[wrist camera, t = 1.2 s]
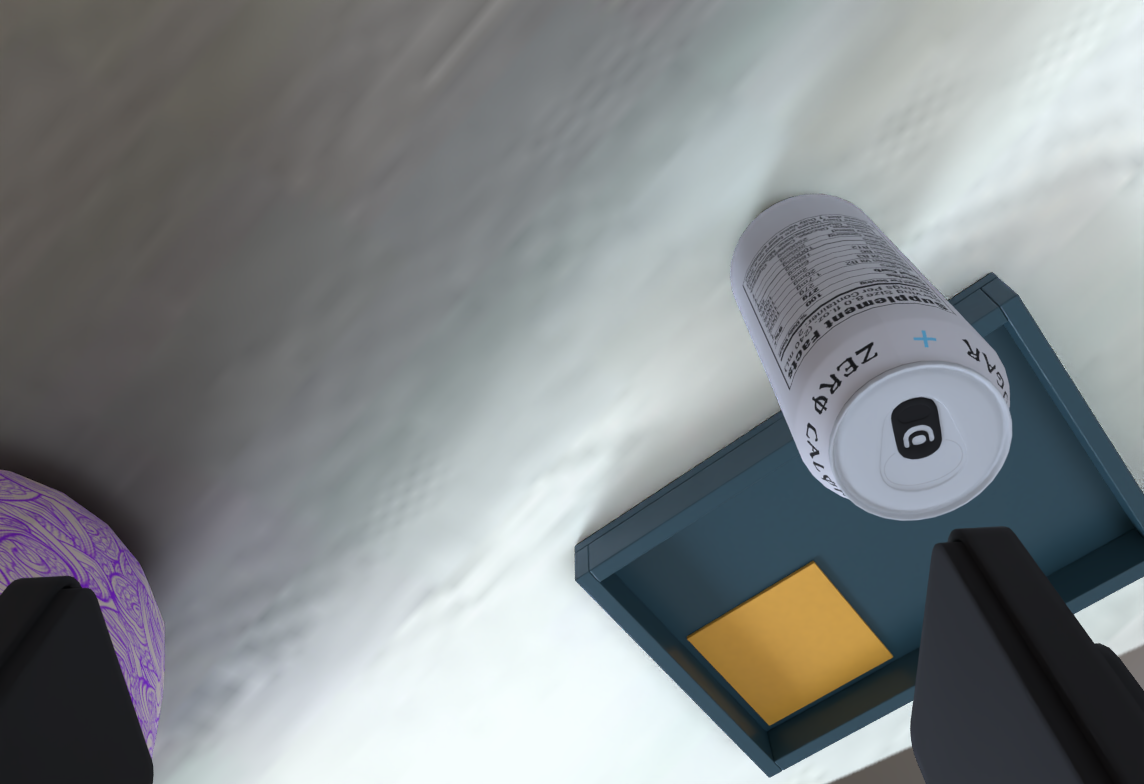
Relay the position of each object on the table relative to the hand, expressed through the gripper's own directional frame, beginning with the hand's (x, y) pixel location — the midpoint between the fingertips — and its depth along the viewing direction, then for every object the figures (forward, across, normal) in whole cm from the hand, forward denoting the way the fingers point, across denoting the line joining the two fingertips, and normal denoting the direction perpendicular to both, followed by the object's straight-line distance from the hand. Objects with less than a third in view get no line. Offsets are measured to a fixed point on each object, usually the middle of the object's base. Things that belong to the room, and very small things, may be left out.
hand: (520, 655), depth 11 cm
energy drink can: (+29, -10, +6) cm, 31 cm away
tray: (+29, -13, +19) cm, 37 cm away
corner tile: (+29, -10, +25) cm, 39 cm away
